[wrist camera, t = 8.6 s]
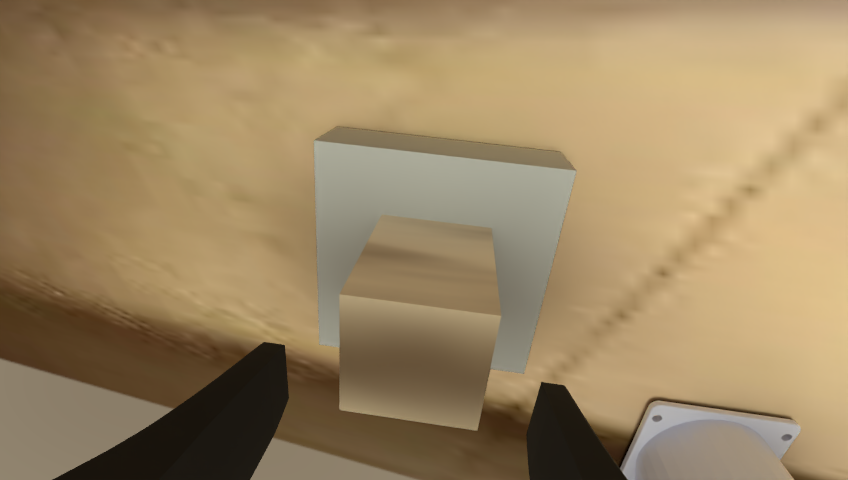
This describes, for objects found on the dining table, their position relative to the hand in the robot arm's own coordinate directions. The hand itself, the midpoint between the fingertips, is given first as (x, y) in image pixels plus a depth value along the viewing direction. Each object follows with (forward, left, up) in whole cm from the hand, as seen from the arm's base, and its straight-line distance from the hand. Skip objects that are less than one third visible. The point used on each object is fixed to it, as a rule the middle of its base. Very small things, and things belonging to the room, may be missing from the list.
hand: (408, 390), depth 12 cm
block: (0, 0, -7) cm, 7 cm away
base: (0, 0, -10) cm, 10 cm away
